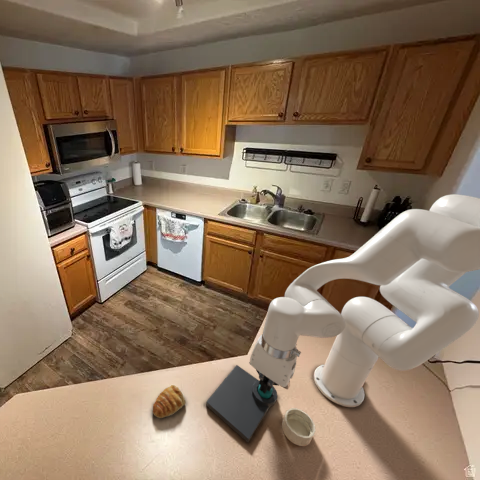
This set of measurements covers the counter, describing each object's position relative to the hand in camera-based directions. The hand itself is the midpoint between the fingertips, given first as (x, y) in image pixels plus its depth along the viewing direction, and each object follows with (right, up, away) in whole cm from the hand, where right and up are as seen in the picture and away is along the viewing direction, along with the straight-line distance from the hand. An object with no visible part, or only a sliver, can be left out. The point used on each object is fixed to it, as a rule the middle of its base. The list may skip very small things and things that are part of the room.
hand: (264, 388), depth 72 cm
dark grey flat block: (-6, -5, +2) cm, 8 cm away
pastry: (-26, -6, +2) cm, 27 cm away
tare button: (0, -2, +1) cm, 2 cm away
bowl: (+6, -8, -5) cm, 11 cm away
